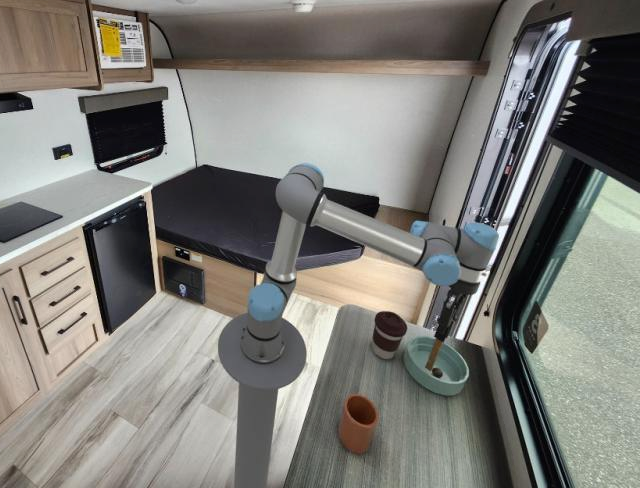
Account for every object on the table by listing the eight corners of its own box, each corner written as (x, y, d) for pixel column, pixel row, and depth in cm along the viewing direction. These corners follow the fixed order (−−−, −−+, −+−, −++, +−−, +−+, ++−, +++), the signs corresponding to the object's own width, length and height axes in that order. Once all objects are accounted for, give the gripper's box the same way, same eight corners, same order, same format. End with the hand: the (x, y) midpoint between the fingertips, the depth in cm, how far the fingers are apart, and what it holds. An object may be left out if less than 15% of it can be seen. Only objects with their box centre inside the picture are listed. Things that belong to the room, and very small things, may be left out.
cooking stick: (424, 367, 101) (444, 316, 93) (427, 364, 102) (446, 313, 94) (430, 371, 100) (451, 320, 91) (432, 368, 101) (453, 317, 92)
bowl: (393, 365, 104) (398, 353, 101) (416, 340, 114) (421, 327, 111) (450, 408, 91) (456, 395, 89) (470, 375, 101) (476, 362, 99)
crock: (331, 432, 85) (338, 406, 80) (349, 413, 89) (356, 387, 85) (358, 461, 79) (367, 434, 74) (375, 438, 84) (384, 412, 79)
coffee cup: (399, 367, 103) (410, 334, 97) (368, 358, 106) (377, 325, 100) (396, 343, 112) (406, 311, 106) (367, 335, 115) (375, 304, 109)
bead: (428, 374, 101) (432, 368, 99) (432, 368, 102) (436, 363, 101) (438, 382, 99) (442, 376, 97) (442, 376, 100) (446, 371, 99)
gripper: (471, 294, 80) (444, 358, 89) (488, 272, 88) (462, 333, 97) (439, 278, 85) (417, 341, 94) (459, 259, 94) (437, 318, 103)
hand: (440, 336), depth 96 cm, fingers closed on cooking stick, 2 cm apart
